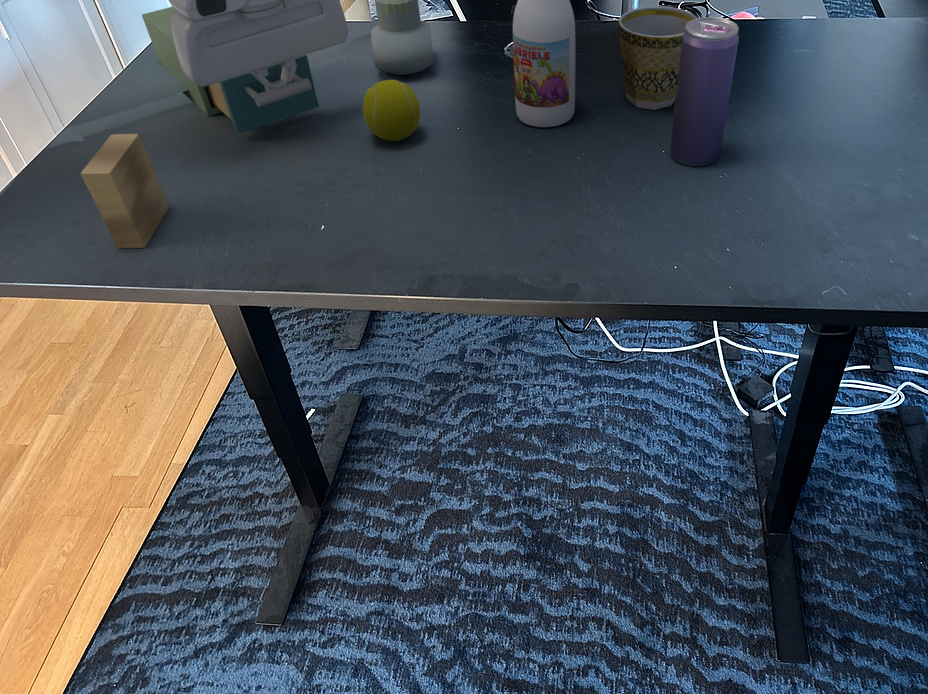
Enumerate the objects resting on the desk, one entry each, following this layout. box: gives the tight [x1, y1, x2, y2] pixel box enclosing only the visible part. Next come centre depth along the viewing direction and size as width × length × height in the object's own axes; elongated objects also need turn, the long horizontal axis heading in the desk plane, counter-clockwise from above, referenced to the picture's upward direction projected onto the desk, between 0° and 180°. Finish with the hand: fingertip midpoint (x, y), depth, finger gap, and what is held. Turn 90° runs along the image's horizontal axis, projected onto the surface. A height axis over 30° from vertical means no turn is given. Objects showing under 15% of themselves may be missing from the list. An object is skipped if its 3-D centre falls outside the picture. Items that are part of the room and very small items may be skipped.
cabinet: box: [141, 6, 223, 117], centre depth 108 cm, size 17×13×9 cm
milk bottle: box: [512, 0, 576, 128], centre depth 94 cm, size 8×8×20 cm
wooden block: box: [80, 133, 170, 249], centre depth 82 cm, size 8×3×9 cm, turn 179°
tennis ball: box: [362, 79, 421, 142], centre depth 96 cm, size 7×7×7 cm
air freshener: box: [370, 0, 435, 76], centre depth 109 cm, size 11×8×10 cm
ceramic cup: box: [617, 5, 698, 111], centre depth 101 cm, size 13×10×10 cm
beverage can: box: [669, 16, 740, 167], centre depth 88 cm, size 6×6×15 cm
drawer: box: [204, 54, 320, 135], centre depth 101 cm, size 20×11×7 cm, turn 38°
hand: (281, 97), depth 96 cm, fingers closed, pressing on drawer
